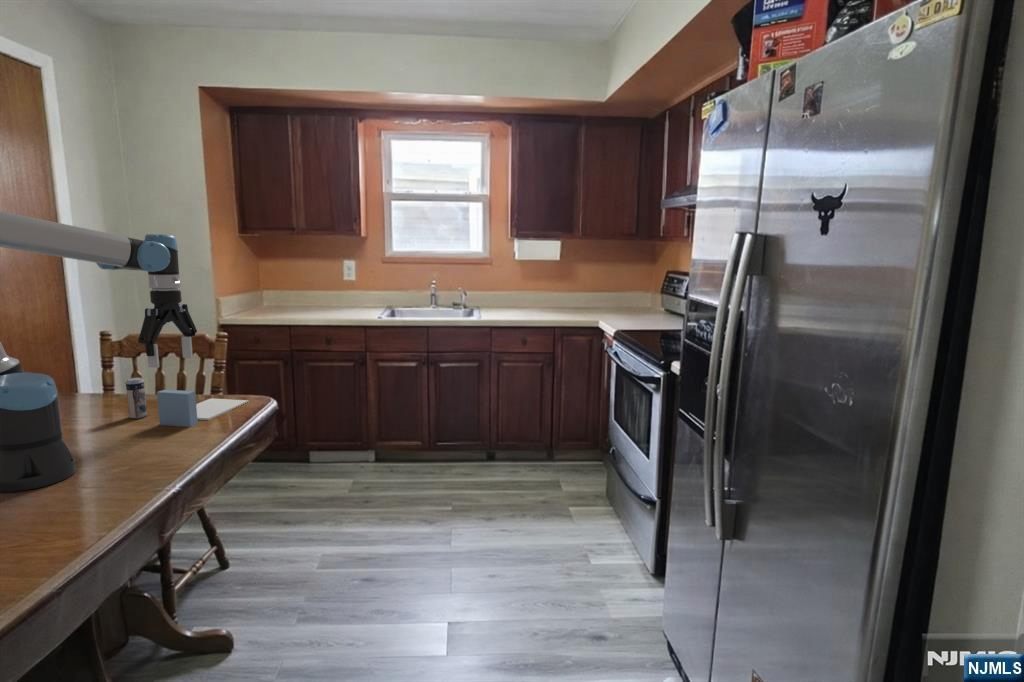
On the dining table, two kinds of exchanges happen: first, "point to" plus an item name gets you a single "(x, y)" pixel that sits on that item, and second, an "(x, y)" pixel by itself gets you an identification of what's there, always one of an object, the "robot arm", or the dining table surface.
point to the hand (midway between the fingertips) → (171, 362)
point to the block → (177, 408)
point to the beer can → (136, 398)
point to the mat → (216, 407)
